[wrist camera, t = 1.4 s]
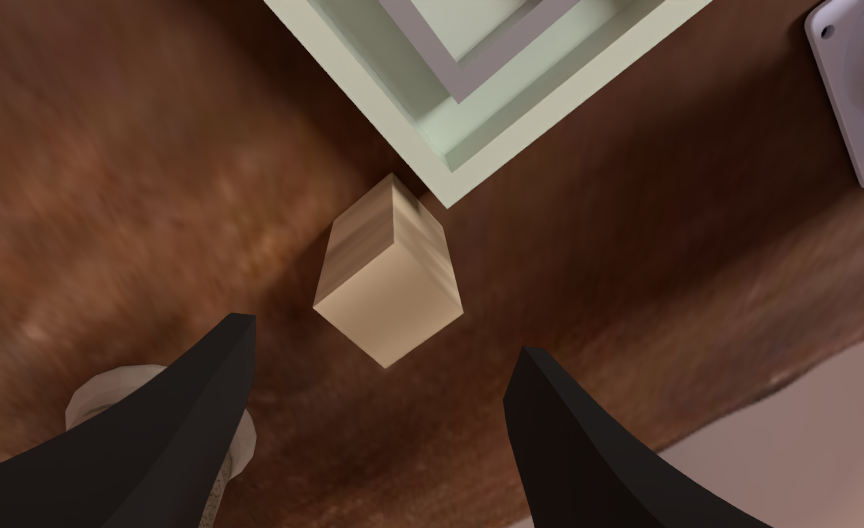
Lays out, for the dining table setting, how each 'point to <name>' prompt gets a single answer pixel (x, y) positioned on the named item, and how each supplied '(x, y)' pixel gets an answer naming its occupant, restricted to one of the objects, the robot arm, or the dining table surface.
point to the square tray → (474, 69)
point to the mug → (128, 379)
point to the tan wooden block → (387, 274)
